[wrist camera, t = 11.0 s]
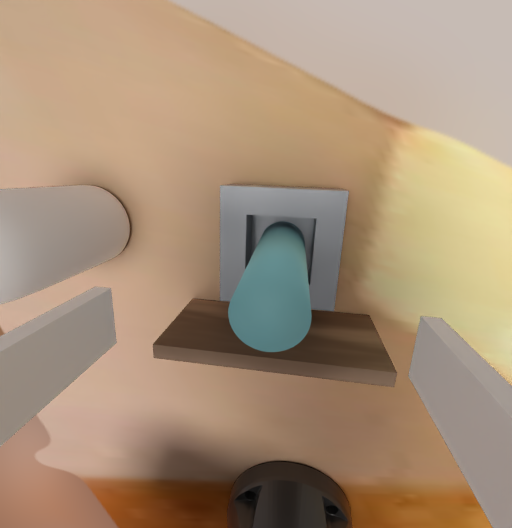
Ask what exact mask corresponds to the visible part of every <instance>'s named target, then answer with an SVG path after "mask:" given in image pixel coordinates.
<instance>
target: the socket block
mask: <svg viewBox="0 0 512 528" xmlns="http://www.w3.org/2000/svg"><path fill="white" fill-rule="evenodd" d="M348 194H349V191H347V190H344V189H335V188H312V187H289V186H266V185H243V184H227V185H220V301H228V302H230V301H231V298H232V296H233V294H234V292H235V290H236V288H237V286H238V284H239V282H240V280H241V278H242V276H243V273H244V271H245V269H246V267H247V265H248V263H249V261H250V259H251V257H252V255H253V253H254V251H255V249H256V247H257V245H258V242H259V240H260V238H261V236H262V234H263V232H264V231H265V229H266V228H267V227H268V226H270V225H271V224H273V223H276V222H280V221H285V222H290V223H292V224H294V225H295V226H297V227H298V228H299V229H300V230H301V232H302V234H303V236H304V242H305V252H306V263H307V273H308V283H309V294H310V304H311V309H313V310H324V311H334V307H335V299H336V291H337V283H338V275H339V267H340V259H341V251H342V243H343V235H344V227H345V218H346V210H347V202H348Z"/></svg>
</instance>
